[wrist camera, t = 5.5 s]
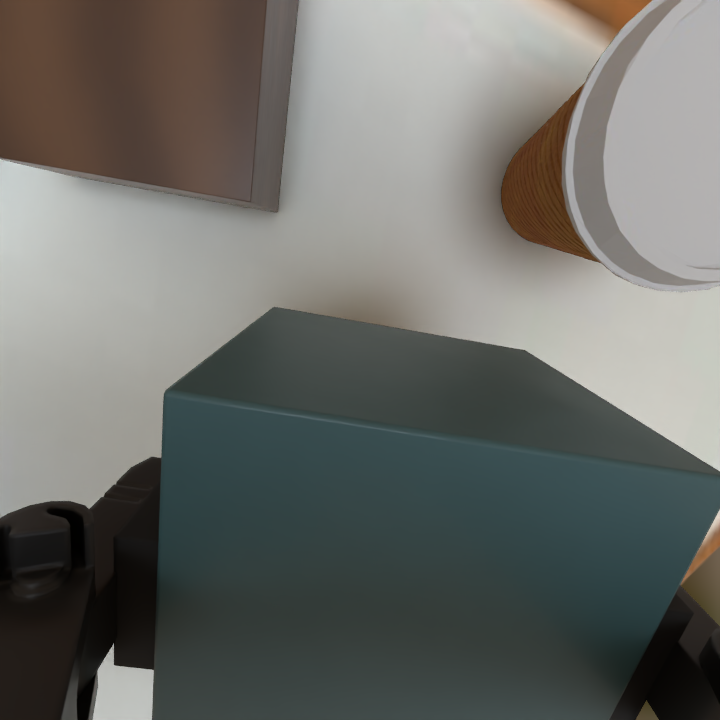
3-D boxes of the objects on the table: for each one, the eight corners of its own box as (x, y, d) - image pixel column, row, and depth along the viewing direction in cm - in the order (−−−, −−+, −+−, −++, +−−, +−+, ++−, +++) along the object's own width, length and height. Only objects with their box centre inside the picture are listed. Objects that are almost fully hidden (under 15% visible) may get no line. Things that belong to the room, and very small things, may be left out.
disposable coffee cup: (545, 57, 21) (770, -169, 9) (670, 162, 22) (997, 77, 11) (441, 215, 23) (521, 187, 12) (561, 300, 25) (736, 350, 13)
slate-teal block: (247, 524, 14) (148, 786, 7) (272, 305, 12) (160, 389, 5) (463, 553, 14) (557, 824, 8) (526, 349, 12) (739, 480, 5)
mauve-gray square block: (73, 176, 23) (-25, 153, 17) (62, -85, 19) (-65, -225, 13) (277, 212, 23) (250, 202, 17) (302, -34, 20) (278, -148, 14)
